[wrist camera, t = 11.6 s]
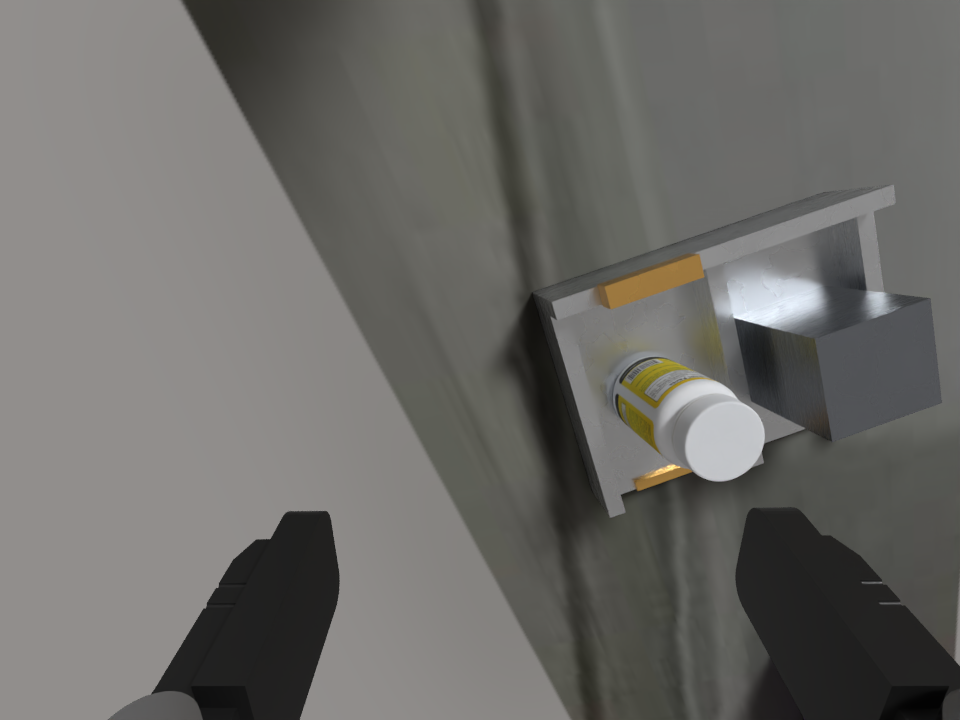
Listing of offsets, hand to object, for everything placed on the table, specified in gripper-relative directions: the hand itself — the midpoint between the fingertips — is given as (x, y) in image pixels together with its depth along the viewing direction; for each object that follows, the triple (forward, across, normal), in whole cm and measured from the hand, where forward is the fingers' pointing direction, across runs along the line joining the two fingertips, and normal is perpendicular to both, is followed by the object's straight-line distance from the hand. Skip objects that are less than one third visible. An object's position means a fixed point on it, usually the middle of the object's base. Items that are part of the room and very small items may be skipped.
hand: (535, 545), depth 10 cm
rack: (+24, -13, +5) cm, 28 cm away
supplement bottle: (+22, -9, +7) cm, 24 cm away
